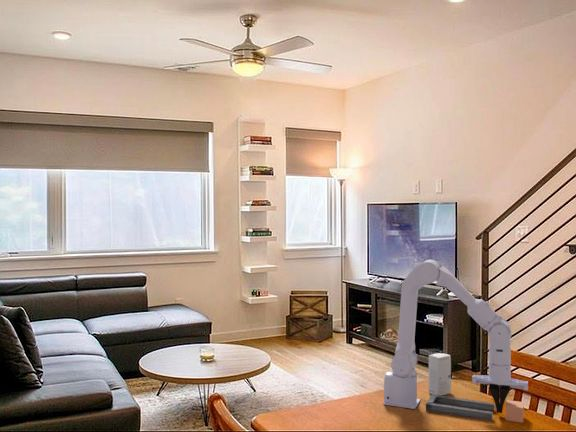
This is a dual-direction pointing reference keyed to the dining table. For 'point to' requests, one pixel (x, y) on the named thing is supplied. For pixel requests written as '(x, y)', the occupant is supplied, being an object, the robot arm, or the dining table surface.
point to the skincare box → (440, 374)
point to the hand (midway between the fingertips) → (499, 411)
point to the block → (514, 411)
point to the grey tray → (461, 407)
